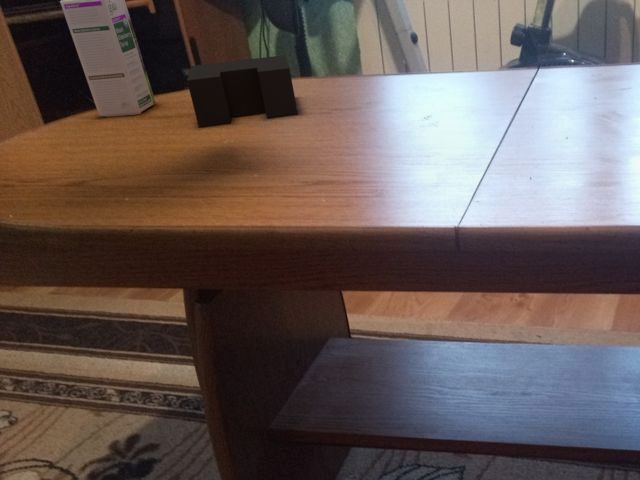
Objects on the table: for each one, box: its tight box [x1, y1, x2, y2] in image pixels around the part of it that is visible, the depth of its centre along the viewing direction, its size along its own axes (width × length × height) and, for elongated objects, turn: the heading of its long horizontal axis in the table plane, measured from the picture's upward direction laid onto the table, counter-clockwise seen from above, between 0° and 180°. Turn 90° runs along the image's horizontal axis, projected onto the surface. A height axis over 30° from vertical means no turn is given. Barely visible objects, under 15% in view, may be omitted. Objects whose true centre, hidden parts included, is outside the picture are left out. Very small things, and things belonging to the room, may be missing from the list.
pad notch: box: [186, 54, 299, 128], centre depth 93 cm, size 12×10×6 cm
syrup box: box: [59, 0, 157, 117], centre depth 96 cm, size 6×6×14 cm
